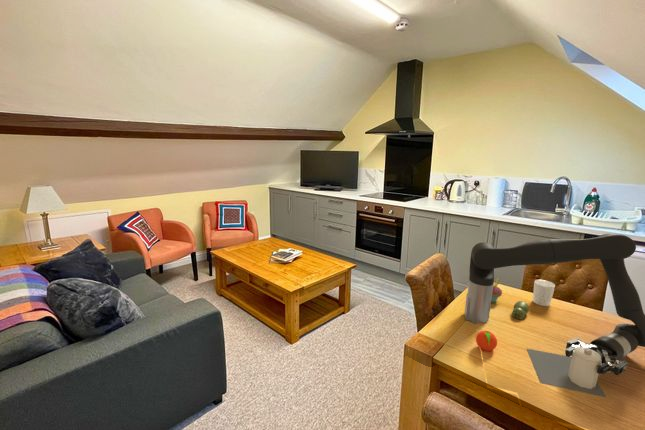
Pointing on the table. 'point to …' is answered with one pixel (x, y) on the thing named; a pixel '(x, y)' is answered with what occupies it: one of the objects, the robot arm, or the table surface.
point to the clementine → (486, 340)
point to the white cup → (543, 292)
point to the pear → (520, 309)
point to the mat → (557, 371)
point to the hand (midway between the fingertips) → (582, 362)
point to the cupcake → (496, 292)
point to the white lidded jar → (584, 367)
